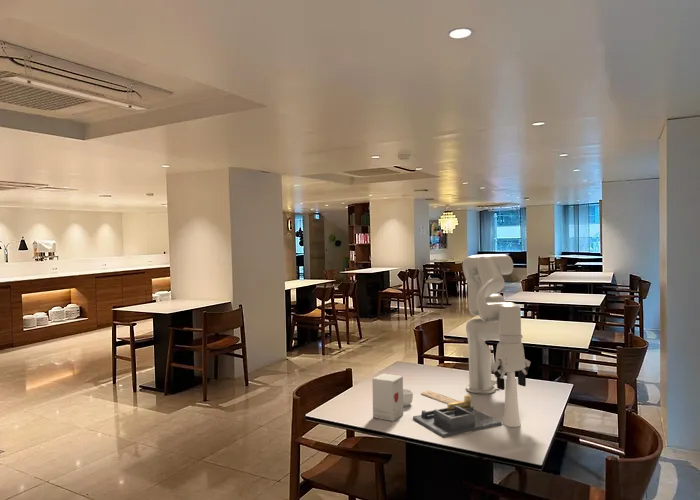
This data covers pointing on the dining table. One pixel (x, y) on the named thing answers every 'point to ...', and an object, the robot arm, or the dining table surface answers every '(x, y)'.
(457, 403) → the wooden block
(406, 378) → the dining table surface
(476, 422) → the cradle
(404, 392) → the teacup
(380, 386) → the supplement box
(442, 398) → the newspaper
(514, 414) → the cosmetic bottle
